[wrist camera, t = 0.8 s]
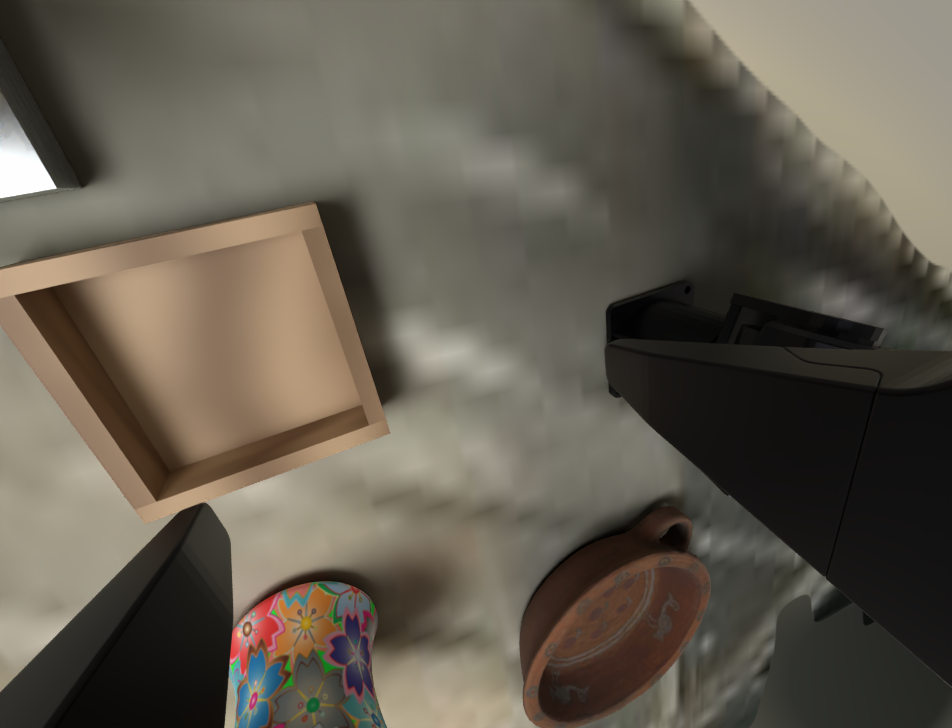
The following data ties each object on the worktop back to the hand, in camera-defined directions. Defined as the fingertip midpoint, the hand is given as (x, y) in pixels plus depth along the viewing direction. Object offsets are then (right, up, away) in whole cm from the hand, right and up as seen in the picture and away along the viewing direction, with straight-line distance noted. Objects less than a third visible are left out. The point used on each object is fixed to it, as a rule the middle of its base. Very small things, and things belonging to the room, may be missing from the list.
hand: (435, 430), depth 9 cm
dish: (+11, -19, +28) cm, 35 cm away
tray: (-10, +2, +10) cm, 14 cm away
